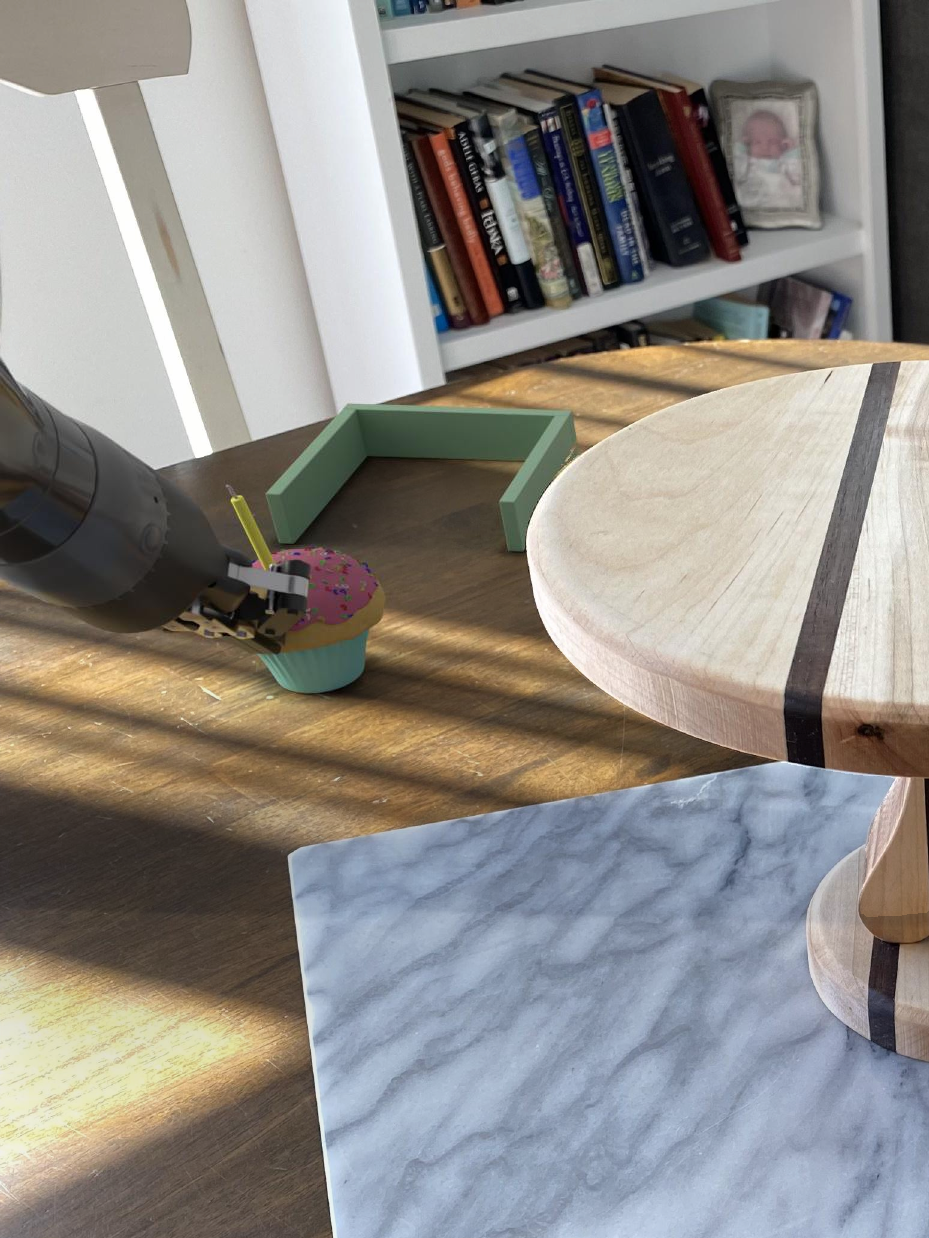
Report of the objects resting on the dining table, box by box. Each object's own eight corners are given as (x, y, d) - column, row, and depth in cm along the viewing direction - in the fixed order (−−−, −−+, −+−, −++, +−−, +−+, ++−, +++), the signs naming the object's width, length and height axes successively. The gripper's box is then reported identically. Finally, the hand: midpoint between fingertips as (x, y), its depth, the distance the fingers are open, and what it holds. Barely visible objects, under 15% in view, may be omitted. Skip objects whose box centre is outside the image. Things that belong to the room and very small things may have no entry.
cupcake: (273, 727, 92) (212, 525, 85) (220, 664, 97) (158, 468, 90) (423, 678, 97) (377, 482, 89) (365, 621, 102) (317, 430, 94)
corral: (523, 552, 109) (514, 501, 107) (278, 543, 109) (264, 493, 107) (579, 457, 121) (572, 410, 119) (358, 450, 121) (347, 403, 119)
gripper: (237, 444, 73) (396, 572, 91) (-59, 435, 74) (155, 565, 91) (219, 610, 72) (383, 708, 90) (-81, 600, 73) (140, 700, 90)
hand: (268, 636), depth 90 cm, fingers closed
